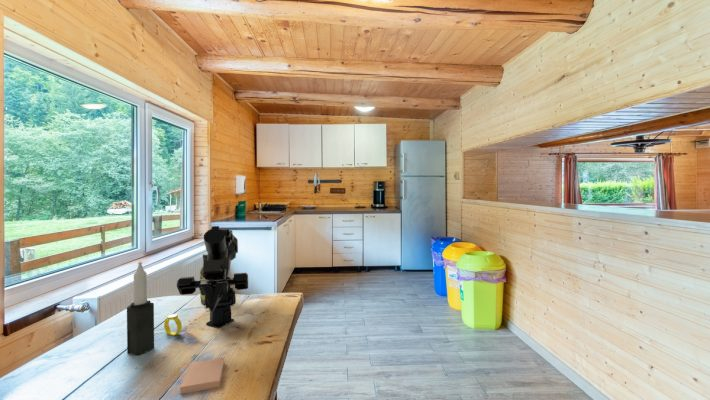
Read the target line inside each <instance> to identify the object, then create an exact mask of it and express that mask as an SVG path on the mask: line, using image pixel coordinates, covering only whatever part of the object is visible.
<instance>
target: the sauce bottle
mask: <svg viewBox="0 0 710 400" xmlns="http://www.w3.org/2000/svg"><path fill="white" fill-rule="evenodd" d="M207 257H208V252H205V253H202V261H206V260H207ZM201 279H205V278H203V266H202V267H201V269H200V271H199V281H200V280H201ZM199 297H200V298H199V299H200V303H201V304H203V305H206V304H205V295H201V292H200V291H199Z"/></svg>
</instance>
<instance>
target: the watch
mask: <svg viewBox="0 0 710 400" xmlns="http://www.w3.org/2000/svg"><path fill="white" fill-rule="evenodd" d="M178 316H179V315H178V314H177V313H173V314H169V315H167V317H166V318H165V320H164V322H163V327H164V330H165V333H166V334H167V335H169V336H173V337H175V336H177V335H179V334H180V333H181V332H182V329H183V328H182V327H183V326H182V321H181V319H180V318H179V317H178ZM170 320H173V321H174V322H175V325H176V332H175V331H172V330H171V328H170Z"/></svg>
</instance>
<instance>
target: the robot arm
mask: <svg viewBox="0 0 710 400" xmlns="http://www.w3.org/2000/svg"><path fill="white" fill-rule="evenodd" d="M238 240H239V239H238V238H237V237H236V236H235V235H234V233H233V230H231V229H230V228H220V226H218V225H217V226H215V225H213V226H211V228H210V229H208V230H207V231H206V232H205V233H204V234H203V243H204V246H205V251H206V253H208V257H207V260H206V261H203V260H202V261H203V263H202V267H203V278H205V279H201V280H200V279H199V280H195V276H181V277H179V278H178V280H176V281H177V282H176V287H177V290H178V293H179V295H183V296H185V295H187V296H188V295H193V294H195V293H196V292H197V291H196V290H197V288H199V293H200V292H201V295H205V304H204V305H205V309H209V321H207V322H205V325H207V326H209V327H214V328H218V329H220V328H222V327H224V326H227V325H228V324H230V323H233V322H234V321H235V318H232V309H231V308H232V307H233V306H234V305H236V304H237V303H236V301H237V299H236V298H237V296H236V291H235V290H237V291H240V290H247V289H249V275H248V273H247V272H237V273H233V277H230V270H231V263H232V261H234V259H236V258H237V257H236V256H237V254H238V253H239V243H238ZM232 285H233V286H234V287H232ZM234 289H235V290H234Z"/></svg>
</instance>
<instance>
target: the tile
mask: <svg viewBox="0 0 710 400" xmlns="http://www.w3.org/2000/svg"><path fill="white" fill-rule="evenodd" d="M224 368H225V357H219V358H213V359H207V360H206V359H205V360H199V361H192V362H189V364H188V367H187V370H186V372H185V374H184V376H183V379H182V381H181V384H180V386H179V393H180V395H182V394H188V393H193V392H198V391H204V390H210V389H216V388H215V387H217V388H221V382H222V377H223V374H224V373H223V372H224Z"/></svg>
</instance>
